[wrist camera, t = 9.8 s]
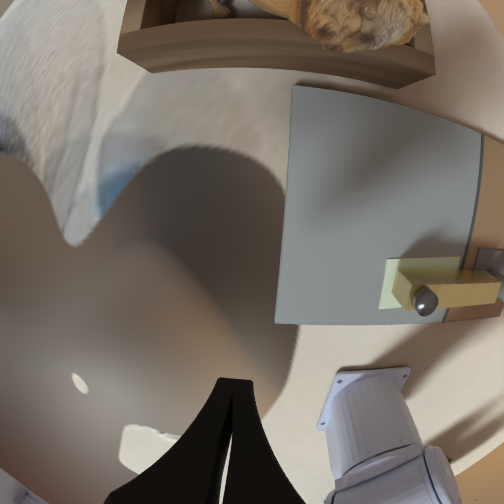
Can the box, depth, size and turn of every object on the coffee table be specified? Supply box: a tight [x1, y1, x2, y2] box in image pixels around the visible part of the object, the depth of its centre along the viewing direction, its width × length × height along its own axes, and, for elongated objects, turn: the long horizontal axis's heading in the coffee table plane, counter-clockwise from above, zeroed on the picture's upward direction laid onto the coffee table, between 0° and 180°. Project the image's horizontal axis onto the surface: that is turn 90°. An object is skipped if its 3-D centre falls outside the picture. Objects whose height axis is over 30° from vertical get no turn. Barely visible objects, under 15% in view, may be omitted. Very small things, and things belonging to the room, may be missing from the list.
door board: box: [275, 85, 504, 325], centre depth 15 cm, size 16×24×4 cm, turn 87°
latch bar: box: [391, 269, 502, 317], centre depth 15 cm, size 10×2×3 cm, turn 89°
